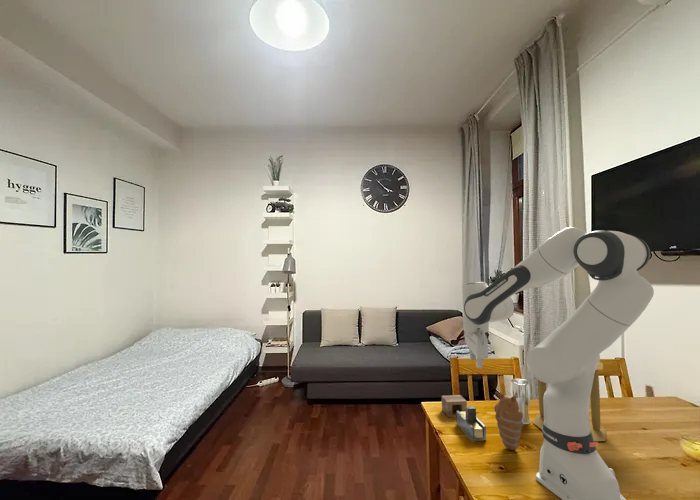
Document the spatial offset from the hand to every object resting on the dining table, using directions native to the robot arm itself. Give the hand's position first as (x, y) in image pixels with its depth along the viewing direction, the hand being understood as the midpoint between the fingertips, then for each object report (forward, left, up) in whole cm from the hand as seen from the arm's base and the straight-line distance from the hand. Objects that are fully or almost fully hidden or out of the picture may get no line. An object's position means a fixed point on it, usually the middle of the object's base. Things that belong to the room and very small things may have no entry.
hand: (476, 363), depth 126 cm
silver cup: (+6, -20, -25) cm, 32 cm away
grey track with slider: (0, +3, -24) cm, 25 cm away
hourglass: (-1, -34, -25) cm, 42 cm away
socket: (+15, +3, -24) cm, 29 cm away
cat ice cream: (-13, -5, -25) cm, 28 cm away
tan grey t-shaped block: (0, +3, -23) cm, 23 cm away
